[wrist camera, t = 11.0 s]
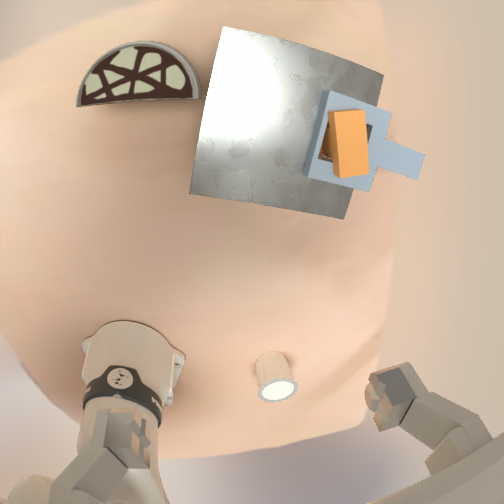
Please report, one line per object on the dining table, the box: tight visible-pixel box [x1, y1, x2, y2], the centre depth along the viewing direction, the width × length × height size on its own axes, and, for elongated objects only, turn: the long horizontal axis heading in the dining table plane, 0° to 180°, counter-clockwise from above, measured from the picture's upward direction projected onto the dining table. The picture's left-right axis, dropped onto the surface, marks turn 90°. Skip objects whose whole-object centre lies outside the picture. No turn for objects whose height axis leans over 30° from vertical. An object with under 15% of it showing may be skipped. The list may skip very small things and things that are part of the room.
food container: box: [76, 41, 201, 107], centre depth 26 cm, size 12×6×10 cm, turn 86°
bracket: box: [303, 90, 425, 192], centre depth 28 cm, size 8×13×3 cm, turn 78°
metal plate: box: [189, 26, 384, 219], centre depth 31 cm, size 16×16×10 cm
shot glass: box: [256, 352, 298, 402], centre depth 52 cm, size 7×7×7 cm
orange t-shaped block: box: [320, 109, 369, 178], centre depth 29 cm, size 6×3×8 cm, turn 9°
